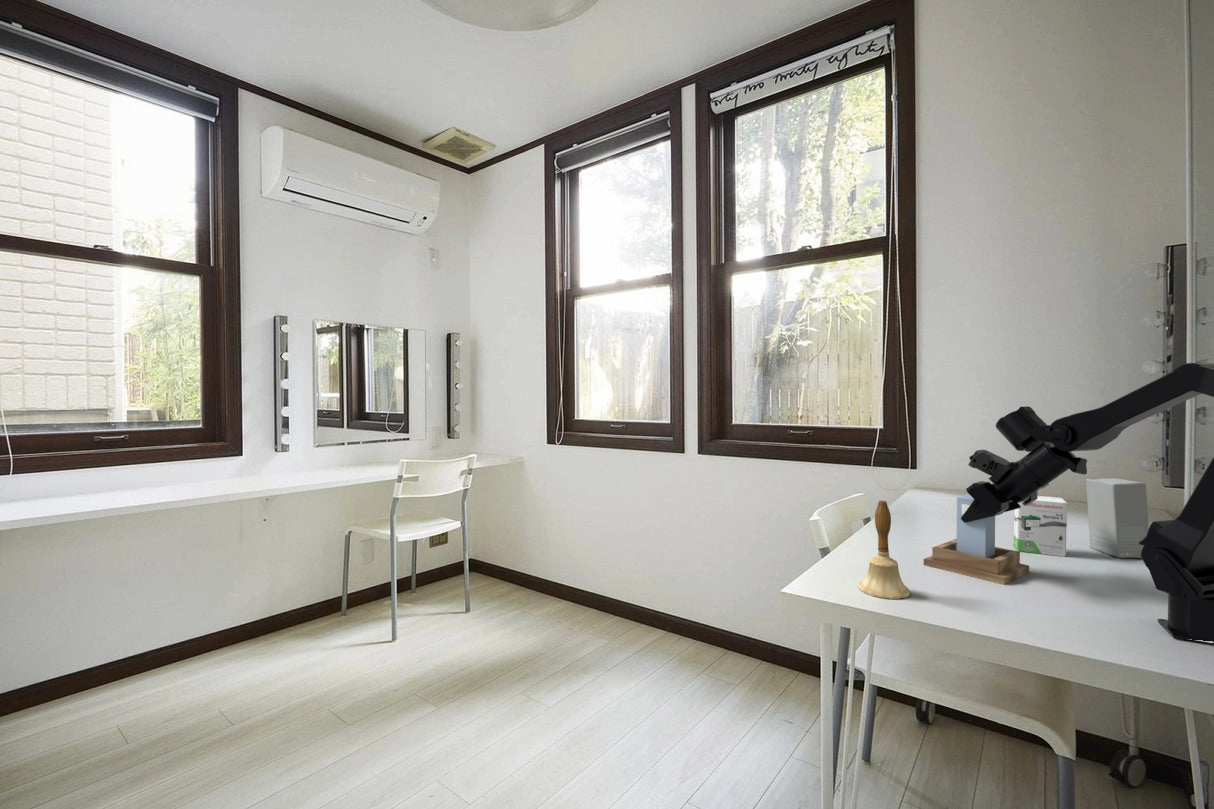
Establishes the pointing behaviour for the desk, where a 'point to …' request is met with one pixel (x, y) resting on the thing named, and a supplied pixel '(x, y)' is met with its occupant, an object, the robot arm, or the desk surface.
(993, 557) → the tray
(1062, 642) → the desk surface
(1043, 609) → the desk surface
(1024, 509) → the ink box
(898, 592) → the hand bell
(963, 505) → the box
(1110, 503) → the skincare box
